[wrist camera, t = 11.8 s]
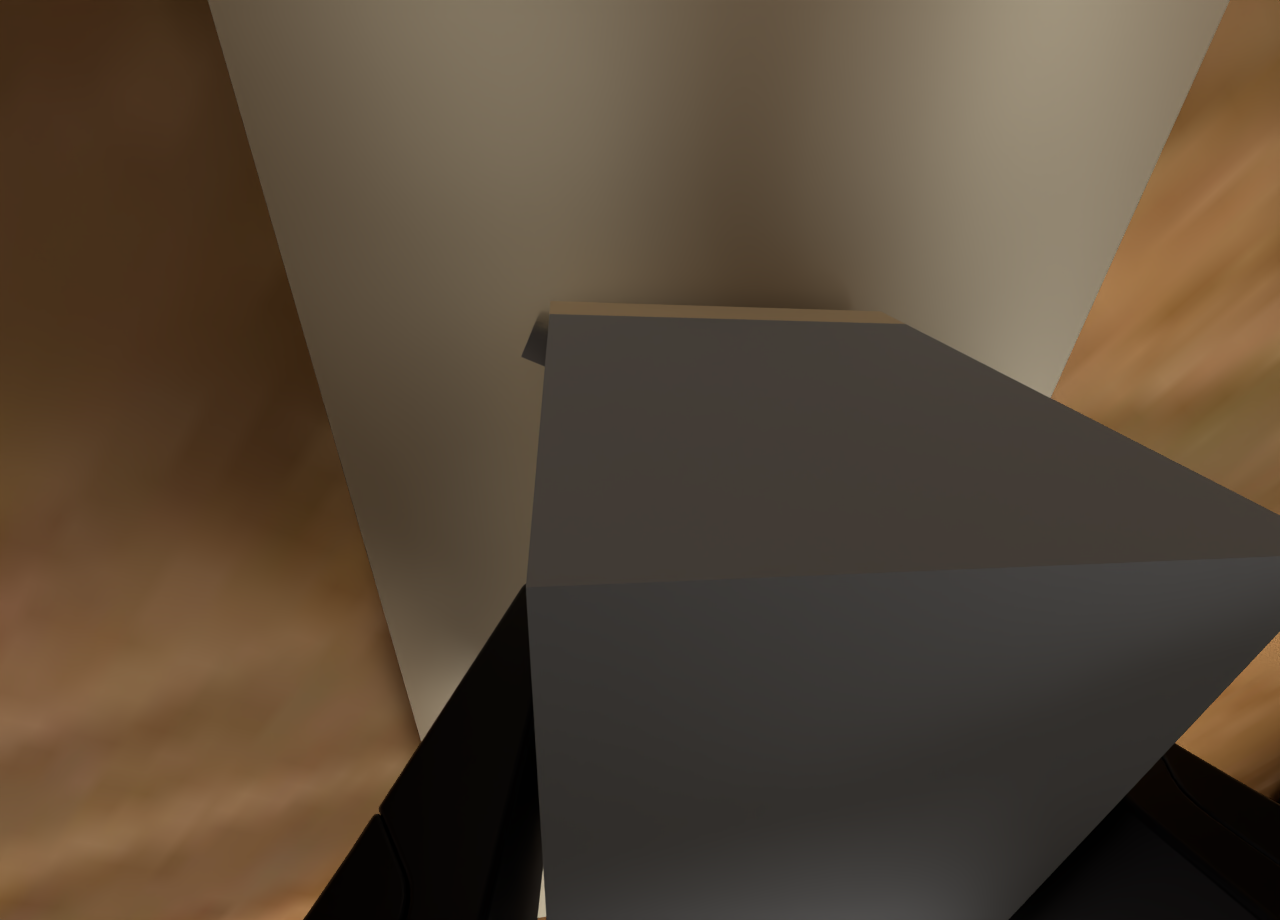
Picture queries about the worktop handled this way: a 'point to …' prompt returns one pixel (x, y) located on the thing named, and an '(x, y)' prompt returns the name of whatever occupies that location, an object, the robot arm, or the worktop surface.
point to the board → (663, 213)
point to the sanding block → (851, 618)
